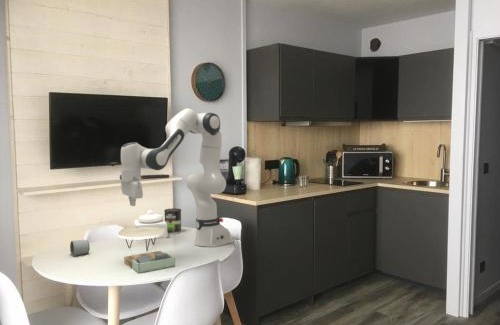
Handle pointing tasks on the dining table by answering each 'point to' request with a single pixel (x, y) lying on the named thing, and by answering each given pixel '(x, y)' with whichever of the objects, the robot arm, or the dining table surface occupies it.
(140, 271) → the tray
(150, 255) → the board
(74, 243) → the ceramic mug
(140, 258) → the tile
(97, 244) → the dining table surface
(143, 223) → the butter dish
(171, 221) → the coffee can
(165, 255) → the tile
